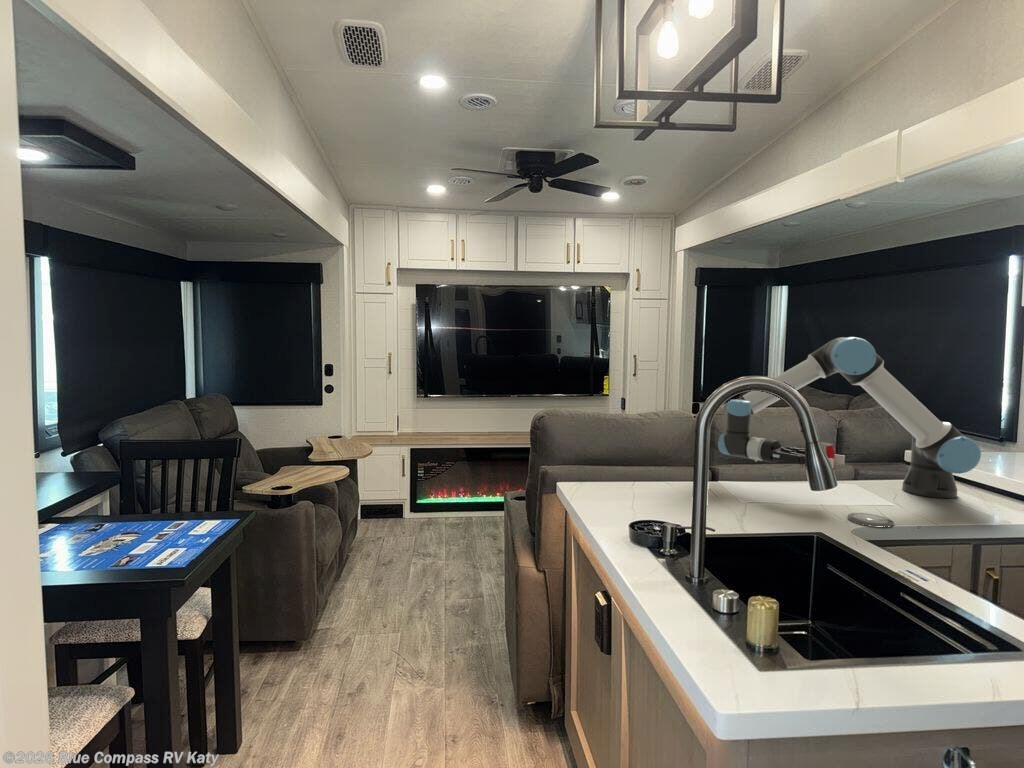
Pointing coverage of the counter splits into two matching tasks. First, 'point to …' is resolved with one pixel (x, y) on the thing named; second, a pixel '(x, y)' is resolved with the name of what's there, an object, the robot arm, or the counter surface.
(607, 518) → the counter surface
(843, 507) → the counter surface
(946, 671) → the counter surface
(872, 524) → the coaster
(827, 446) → the soda can
